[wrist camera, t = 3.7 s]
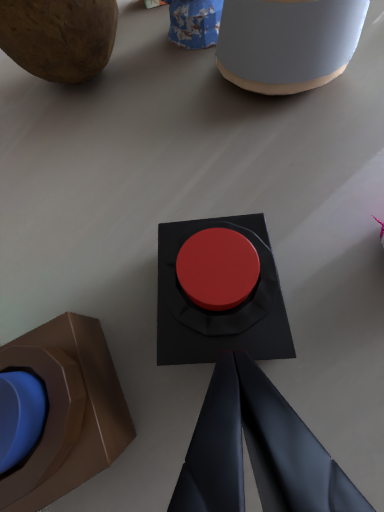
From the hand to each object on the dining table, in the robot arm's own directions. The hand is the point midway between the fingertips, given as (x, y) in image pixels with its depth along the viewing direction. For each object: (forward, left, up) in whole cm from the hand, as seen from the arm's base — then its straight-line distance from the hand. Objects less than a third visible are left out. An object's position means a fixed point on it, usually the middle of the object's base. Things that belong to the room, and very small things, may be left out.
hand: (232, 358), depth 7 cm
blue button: (+5, +12, -6) cm, 14 cm away
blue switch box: (+5, +12, -12) cm, 18 cm away
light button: (+4, -3, -6) cm, 8 cm away
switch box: (+4, -3, -12) cm, 13 cm away
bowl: (+49, -10, -12) cm, 52 cm away
